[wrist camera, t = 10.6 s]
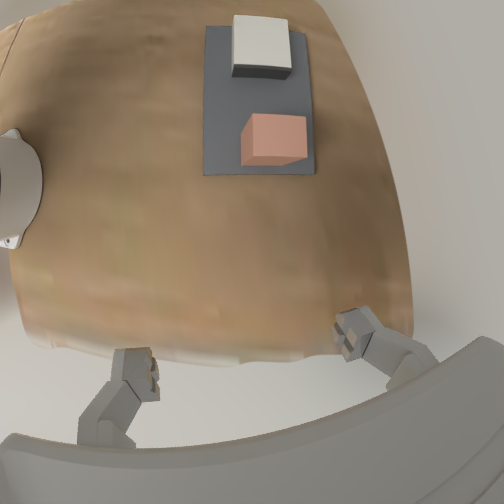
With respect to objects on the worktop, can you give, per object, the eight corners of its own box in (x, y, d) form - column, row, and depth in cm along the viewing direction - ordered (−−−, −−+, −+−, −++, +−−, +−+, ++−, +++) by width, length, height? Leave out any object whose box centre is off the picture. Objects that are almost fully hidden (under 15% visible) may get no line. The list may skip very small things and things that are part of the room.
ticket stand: (203, 175, 33) (203, 173, 28) (206, 31, 28) (206, 14, 23) (310, 175, 35) (324, 173, 30) (301, 38, 30) (312, 23, 26)
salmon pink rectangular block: (241, 165, 31) (253, 156, 23) (240, 134, 30) (252, 113, 22) (281, 166, 32) (307, 157, 23) (280, 134, 31) (305, 116, 23)
